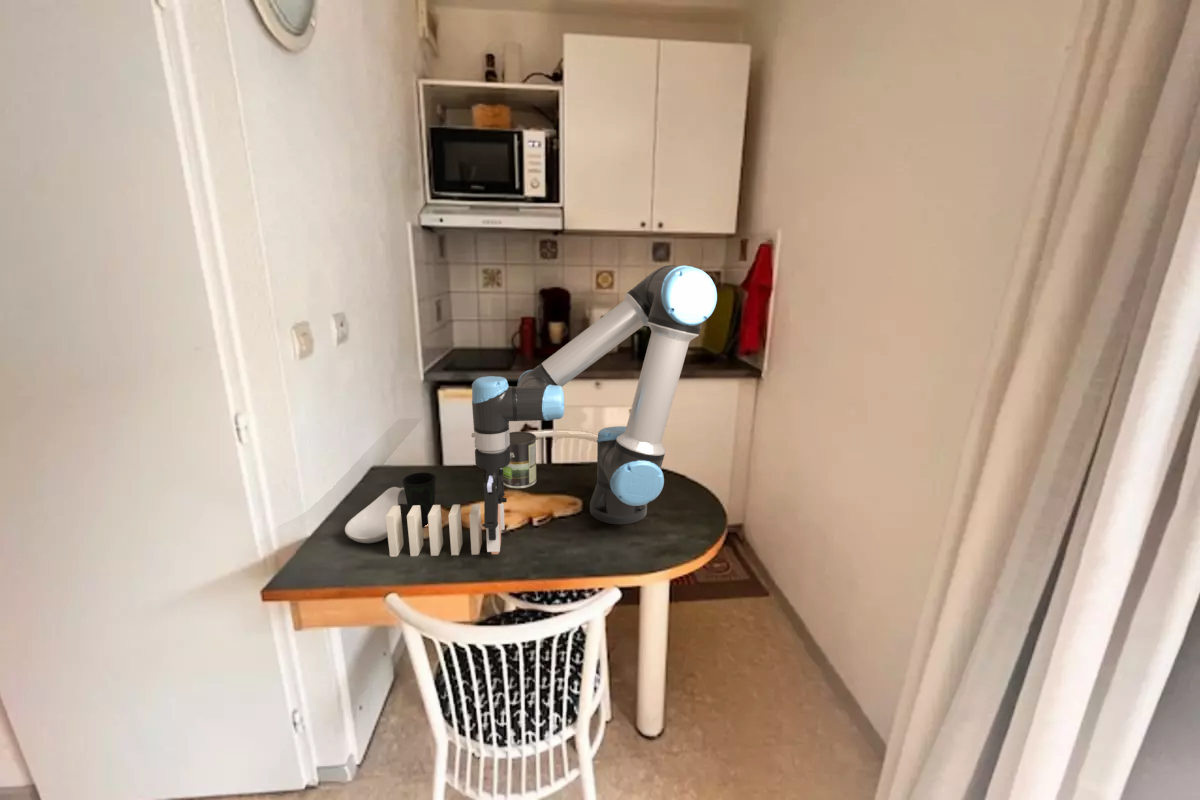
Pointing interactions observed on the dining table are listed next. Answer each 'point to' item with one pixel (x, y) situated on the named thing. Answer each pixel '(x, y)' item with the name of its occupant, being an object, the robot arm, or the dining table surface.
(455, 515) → the tile
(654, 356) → the robot arm
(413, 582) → the dining table surface
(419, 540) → the tile
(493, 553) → the tile
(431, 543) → the tile
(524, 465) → the coffee can
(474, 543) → the tile
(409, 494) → the cup
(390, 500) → the spoon rest
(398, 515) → the cream flat rectangular block
